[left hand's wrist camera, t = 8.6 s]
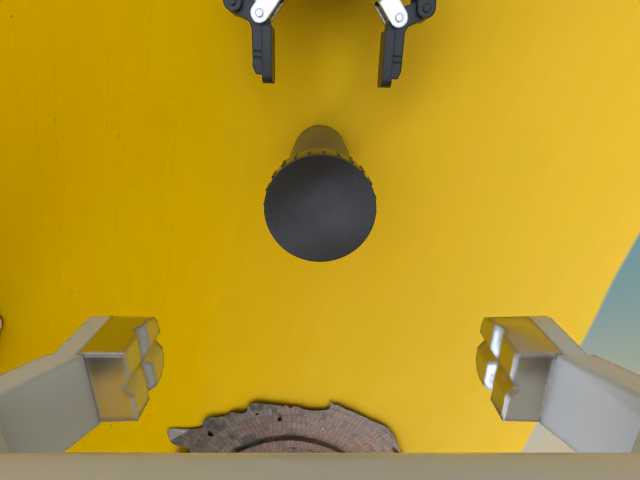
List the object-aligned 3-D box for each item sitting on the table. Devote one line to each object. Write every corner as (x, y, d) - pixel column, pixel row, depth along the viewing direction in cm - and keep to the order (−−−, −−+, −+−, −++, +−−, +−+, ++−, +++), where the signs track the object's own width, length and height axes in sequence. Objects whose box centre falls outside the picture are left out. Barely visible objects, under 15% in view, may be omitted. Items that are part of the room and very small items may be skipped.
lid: (276, 136, 21) (272, 141, 19) (384, 158, 21) (390, 165, 20) (260, 238, 23) (255, 251, 21) (359, 257, 24) (362, 271, 22)
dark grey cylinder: (299, 120, 37) (281, 152, 20) (350, 131, 38) (377, 171, 20) (290, 171, 39) (266, 242, 22) (339, 181, 39) (355, 259, 22)
